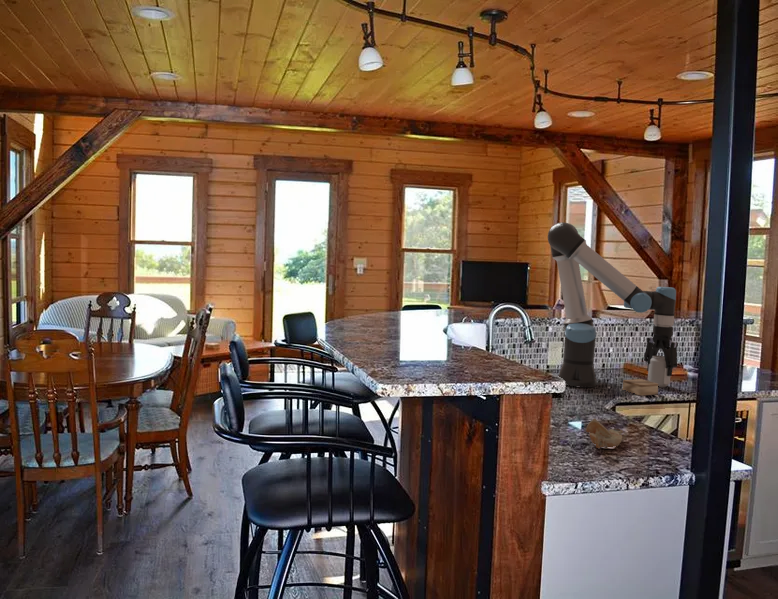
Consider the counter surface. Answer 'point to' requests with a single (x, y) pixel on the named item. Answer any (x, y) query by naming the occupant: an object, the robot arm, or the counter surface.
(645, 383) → the pedestal
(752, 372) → the counter surface
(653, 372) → the can
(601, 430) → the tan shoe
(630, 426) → the counter surface
